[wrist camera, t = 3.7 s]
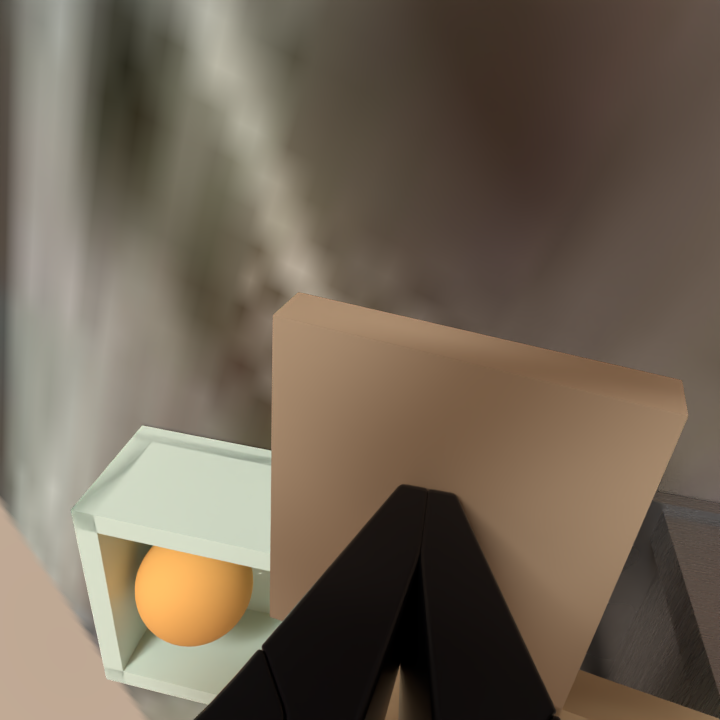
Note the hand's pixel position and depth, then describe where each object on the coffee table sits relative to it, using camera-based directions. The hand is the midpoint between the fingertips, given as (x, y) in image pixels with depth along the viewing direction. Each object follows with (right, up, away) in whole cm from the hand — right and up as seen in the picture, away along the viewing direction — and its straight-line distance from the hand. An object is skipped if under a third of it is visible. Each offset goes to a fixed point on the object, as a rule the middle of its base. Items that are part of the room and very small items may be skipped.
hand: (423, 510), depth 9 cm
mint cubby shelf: (-3, -3, +10) cm, 11 cm away
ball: (-5, -4, +9) cm, 11 cm away
